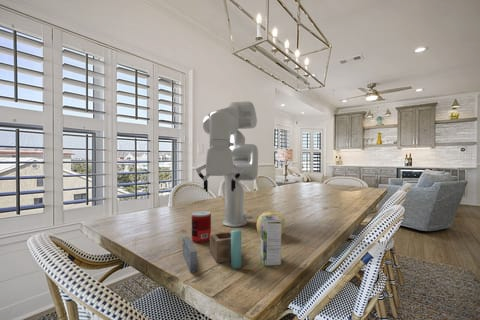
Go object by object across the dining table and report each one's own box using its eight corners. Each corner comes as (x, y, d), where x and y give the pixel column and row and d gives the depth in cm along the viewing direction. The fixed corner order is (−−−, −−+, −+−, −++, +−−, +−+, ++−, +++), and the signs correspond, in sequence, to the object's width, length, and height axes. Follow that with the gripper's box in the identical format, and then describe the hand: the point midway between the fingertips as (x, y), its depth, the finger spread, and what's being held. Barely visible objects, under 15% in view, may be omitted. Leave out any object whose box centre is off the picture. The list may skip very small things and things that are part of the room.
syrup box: (260, 258, 78) (260, 215, 78) (277, 257, 78) (277, 214, 78) (263, 266, 72) (263, 219, 72) (282, 265, 73) (282, 219, 72)
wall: (188, 253, 82) (188, 236, 82) (196, 271, 69) (196, 251, 69) (182, 254, 81) (182, 237, 81) (190, 272, 68) (190, 252, 68)
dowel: (239, 263, 74) (239, 228, 74) (243, 267, 71) (242, 231, 71) (229, 264, 73) (229, 230, 73) (233, 269, 70) (233, 233, 70)
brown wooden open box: (231, 249, 85) (231, 230, 85) (239, 258, 77) (239, 237, 77) (209, 253, 82) (209, 233, 82) (216, 262, 74) (216, 241, 74)
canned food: (213, 237, 98) (213, 211, 98) (205, 243, 91) (205, 216, 91) (198, 235, 101) (197, 210, 101) (188, 241, 93) (188, 214, 93)
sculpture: (260, 242, 92) (260, 215, 92) (254, 232, 104) (254, 208, 104) (287, 240, 94) (287, 214, 94) (278, 231, 106) (278, 208, 106)
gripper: (241, 146, 91) (241, 189, 91) (196, 145, 89) (196, 190, 89) (243, 144, 84) (243, 192, 84) (195, 144, 82) (195, 192, 82)
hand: (219, 191), depth 86 cm, fingers open, 9 cm apart
